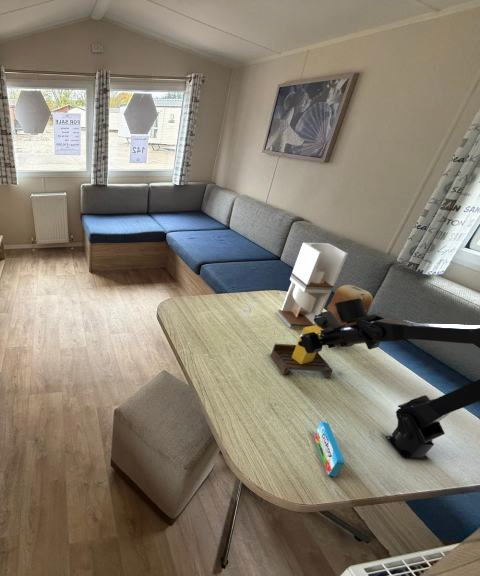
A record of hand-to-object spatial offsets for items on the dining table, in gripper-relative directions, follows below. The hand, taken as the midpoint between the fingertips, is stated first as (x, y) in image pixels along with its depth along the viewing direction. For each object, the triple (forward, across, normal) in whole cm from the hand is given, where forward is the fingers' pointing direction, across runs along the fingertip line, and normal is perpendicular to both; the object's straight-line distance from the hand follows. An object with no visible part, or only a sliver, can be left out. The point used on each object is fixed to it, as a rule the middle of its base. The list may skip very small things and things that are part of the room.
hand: (304, 342), depth 108 cm
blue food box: (-14, +24, +28) cm, 39 cm away
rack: (+6, 0, +8) cm, 10 cm away
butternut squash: (+11, -26, +4) cm, 28 cm away
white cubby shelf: (+23, -25, -8) cm, 35 cm away
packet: (+4, 0, +6) cm, 7 cm away
